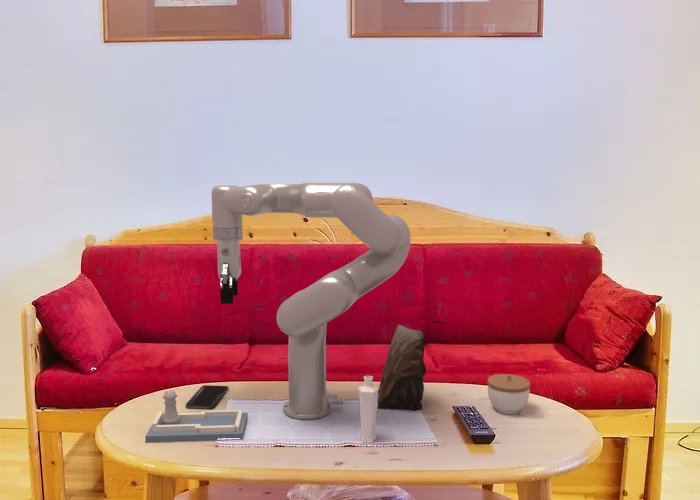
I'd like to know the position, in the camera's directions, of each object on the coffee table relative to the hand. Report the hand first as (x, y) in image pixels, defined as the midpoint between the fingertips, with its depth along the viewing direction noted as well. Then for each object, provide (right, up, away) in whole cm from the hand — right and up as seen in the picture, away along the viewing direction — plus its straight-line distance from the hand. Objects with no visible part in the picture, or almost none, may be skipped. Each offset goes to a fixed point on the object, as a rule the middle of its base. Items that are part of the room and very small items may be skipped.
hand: (229, 299), depth 158 cm
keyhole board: (-5, -30, -12) cm, 33 cm away
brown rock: (+44, -28, +4) cm, 53 cm away
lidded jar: (+72, -29, 0) cm, 78 cm away
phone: (-7, -28, +8) cm, 30 cm away
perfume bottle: (+36, -31, -17) cm, 50 cm away
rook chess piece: (-11, -29, -13) cm, 34 cm away
